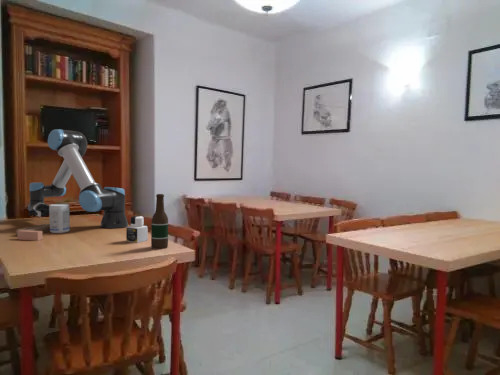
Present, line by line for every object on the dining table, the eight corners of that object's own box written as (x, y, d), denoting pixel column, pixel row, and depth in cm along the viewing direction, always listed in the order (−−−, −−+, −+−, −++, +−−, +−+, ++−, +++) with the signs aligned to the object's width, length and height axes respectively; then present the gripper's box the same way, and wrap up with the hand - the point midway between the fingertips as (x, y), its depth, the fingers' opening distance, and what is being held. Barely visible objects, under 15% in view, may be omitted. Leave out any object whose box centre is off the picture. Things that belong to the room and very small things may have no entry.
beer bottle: (164, 249, 160) (164, 195, 159) (147, 248, 162) (148, 194, 161) (171, 246, 168) (171, 193, 167) (155, 244, 170) (155, 193, 168)
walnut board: (55, 229, 203) (55, 224, 203) (26, 236, 182) (26, 230, 182) (46, 229, 204) (46, 223, 204) (16, 235, 183) (16, 229, 183)
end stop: (42, 239, 176) (42, 231, 176) (37, 240, 174) (37, 232, 173) (22, 238, 178) (22, 229, 178) (17, 239, 175) (17, 231, 175)
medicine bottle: (126, 241, 176) (126, 216, 175) (137, 238, 182) (137, 215, 182) (137, 243, 173) (137, 217, 172) (147, 240, 179) (147, 216, 178)
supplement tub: (67, 229, 203) (67, 203, 202) (71, 232, 196) (71, 205, 195) (47, 231, 197) (47, 204, 196) (51, 234, 190) (51, 205, 189)
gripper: (64, 214, 227) (77, 218, 212) (17, 217, 209) (28, 222, 194) (64, 202, 226) (77, 205, 211) (17, 204, 208) (28, 208, 194)
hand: (53, 213), depth 203 cm, fingers open, 13 cm apart
